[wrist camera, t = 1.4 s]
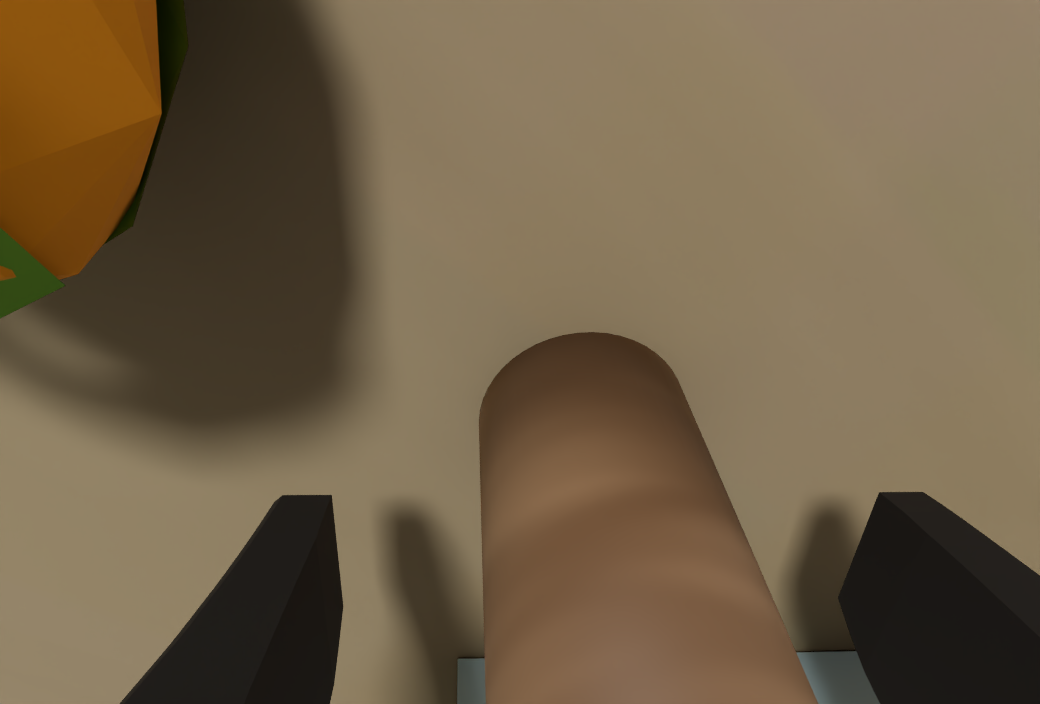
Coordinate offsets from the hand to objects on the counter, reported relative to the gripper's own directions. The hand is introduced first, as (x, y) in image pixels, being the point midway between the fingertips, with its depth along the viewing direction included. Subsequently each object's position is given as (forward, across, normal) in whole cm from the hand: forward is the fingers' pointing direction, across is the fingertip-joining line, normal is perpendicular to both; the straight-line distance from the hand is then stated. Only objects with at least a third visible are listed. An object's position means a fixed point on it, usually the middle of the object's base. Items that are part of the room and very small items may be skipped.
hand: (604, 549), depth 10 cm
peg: (+3, 0, 0) cm, 3 cm away
